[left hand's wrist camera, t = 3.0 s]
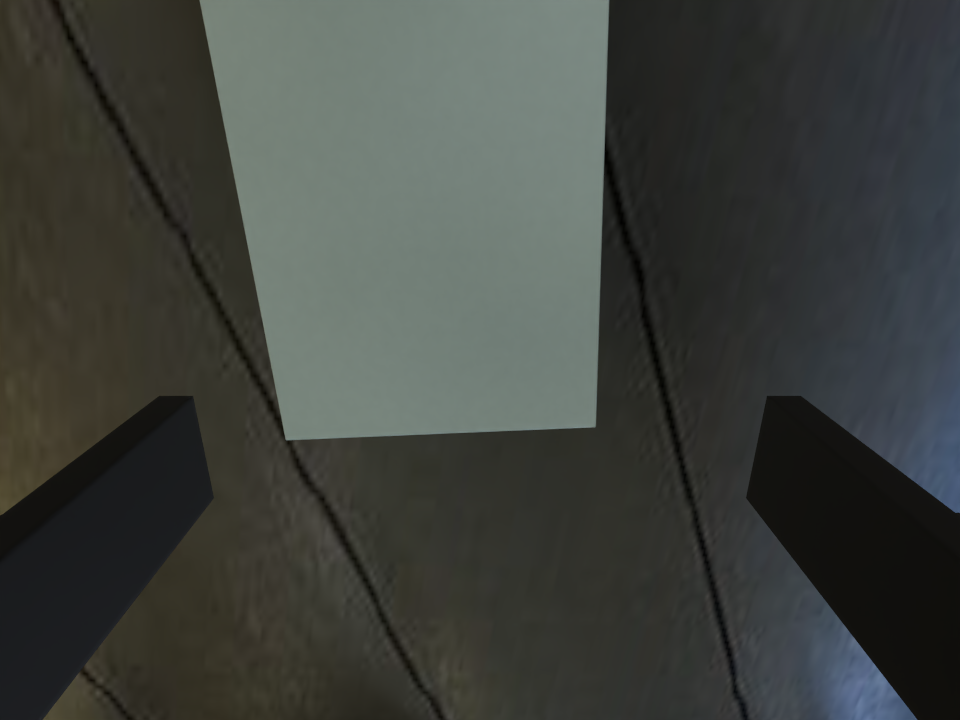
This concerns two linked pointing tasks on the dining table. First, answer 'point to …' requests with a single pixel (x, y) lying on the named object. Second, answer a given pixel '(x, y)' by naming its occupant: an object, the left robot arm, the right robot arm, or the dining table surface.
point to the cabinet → (420, 206)
